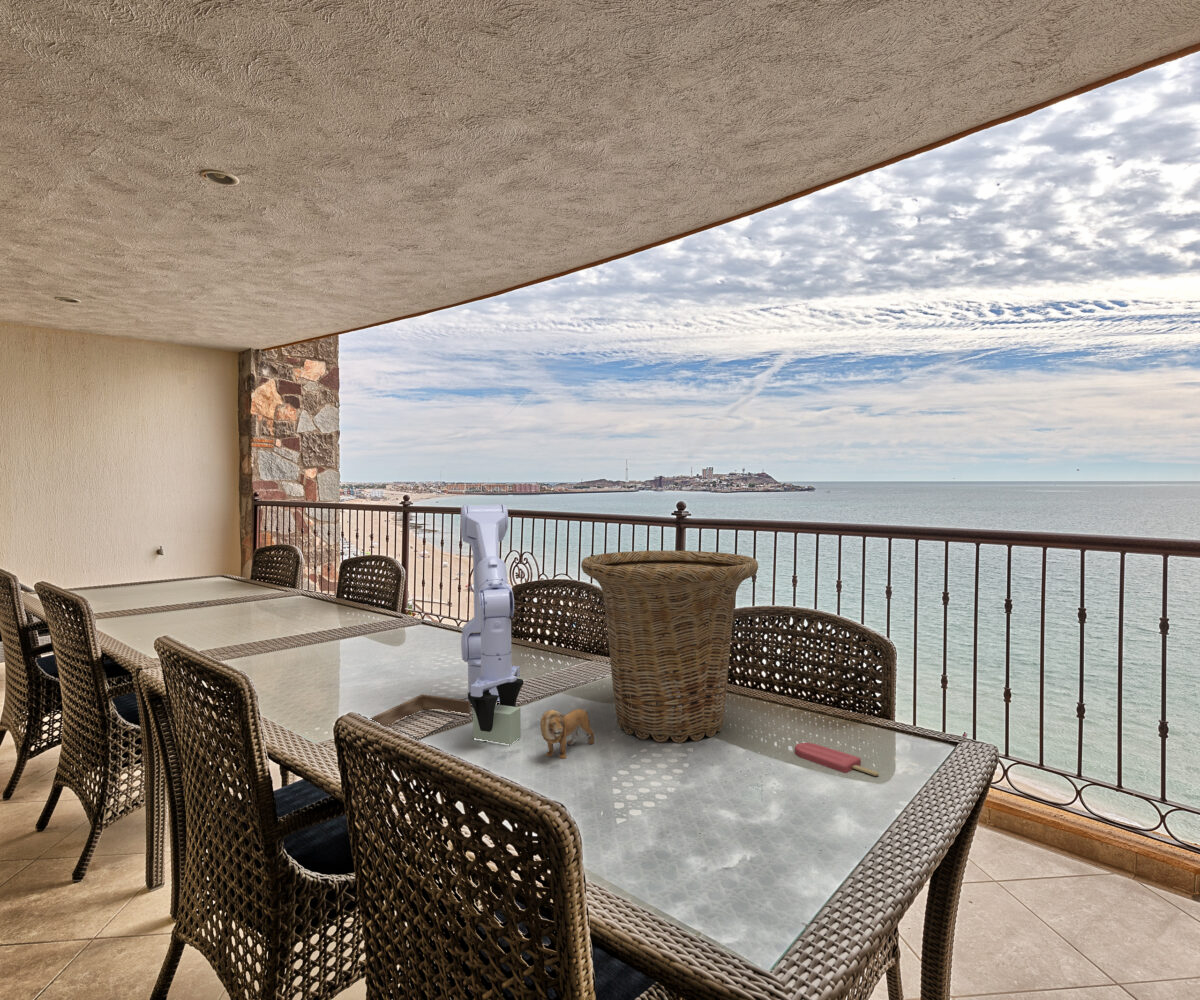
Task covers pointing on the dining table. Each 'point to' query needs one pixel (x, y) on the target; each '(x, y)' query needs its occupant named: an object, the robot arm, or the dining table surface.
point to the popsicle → (831, 758)
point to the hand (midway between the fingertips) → (496, 723)
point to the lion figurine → (564, 729)
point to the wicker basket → (669, 637)
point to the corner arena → (421, 708)
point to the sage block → (501, 725)
